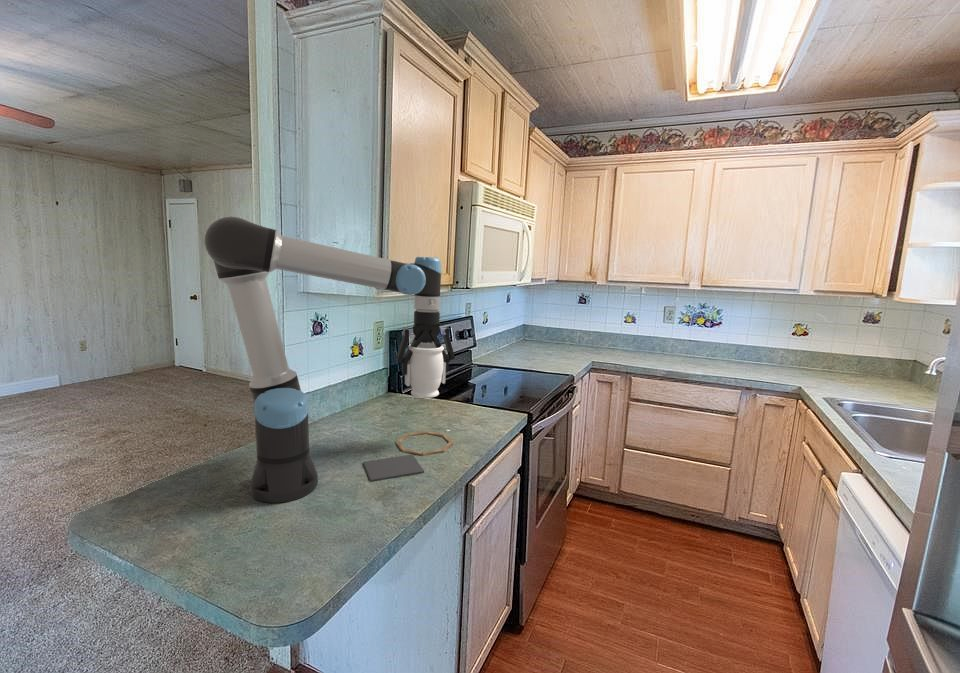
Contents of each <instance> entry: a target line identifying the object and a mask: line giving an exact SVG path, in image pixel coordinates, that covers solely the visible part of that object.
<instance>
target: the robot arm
mask: <svg viewBox="0 0 960 673" xmlns="http://www.w3.org/2000/svg"><path fill="white" fill-rule="evenodd" d="M204 246H205V250H206V252H207V255H209V257H210V258H211V259H212V261H213V265H214V267H215V270H216V275H217V277H218V280H219V281H220V282H222V283H224V284H226V285H227V287H228V291H229V294H230V297H231V301H232V305H233V309H234V313H235V317H236V319H237V323H238V325H239V329H240V330H239V331H240V334H241V336H242V341H243V343H244V344H243V345H244V346H245V351H246V355H247V358H248V362H249V365H250V369H251V372H252V376H253V377H252V379H251V380H250V382H249V383H248V386H249V390H250V392H251V397H252V400H253V404H254V406H253V415H254V423H255V424H254V425H255V444H256V445H255V447H256V463H255V466H254V469H253V473H252V476H251V479H250V483H249V490H250V496H251V497H252V498H253V499H254V500H256V501H257V502H261V503H262V502H263V503H270V504H276V503H277V504H279V503H280V504H281V503H286V502H291V501H294V500H298V499H301V498H304V497H305V496H307V495H309V494H310V493H312V492H313V491H314V490H315V489H316V488H317V486H318V483H319V480H318V479H319V478H318V477H319V476H318V471H317V469H316V466H315V464H314V461H313V460H312V457H311V453H310V432H309V431H310V430H309V428H310V427H309V426H310V425H309V411H310V405H309V401H308V397H307V395H306V393H304V392H303V391H302V389H301V385H300V382H299V378H298V374H297V372H296V371H294V370H293V369H291V368H289V363H288V360H287V356H286V352H285V348H284V344H283V340H282V337H281V333H280V329H279V324H278V322H277V317H276V314H275V310H274V306H273V302H272V299H271V294H270V291H269V287H268V283H267V277H268V275H269V274H270V273H272V272H274V271H275V270H278V271H279V270H281V271H286V272H291V273H296V274H300V275H306V276H310V277H311V276H312V277H318V278H322V279H326V280H327V279H328V280H331V281H332V280H333V281H337V282H343V283H348V284H353V285H359V286H365V287H370V288H374V289H376V290H381V291H390V292H395V293H401V294H403V295H405V296H407V295H408V296H413V295H414V298H413V300H414V302H413V304H414V305H413V309H415V310H414V312H413V326H412V328H403V329H402V337H401V341H400V344H399V347H398V350H397V353H396V356H395V361H396V362H398V363H400V364H401V374H402V375H404V385H406V386H407V387H411V384H410V364H409V363H408V361H409V360H410V358H411V356H412V354H413V352H412V351H411V350H409V348H407V346H408V342H409V339H410V337H411V336H412V334H413V335H414V337H413V339H412V342H411V343H410V344H411V345H410V344H409V345H410V346H412V347H416V348H417V347H418V345H419V344H420V343H433V344H435V346H436V348H439V347H441V346H443V345H442V344H441V342H440V340H439V338H438V336H439V334H441V335H442V336H443V337H442V338H443V341H444V344H445V348H446V351H445V349H444V350H443V351H442V355H443V373H442V378H441V383H442V384H446V375H447V374H446V373H448V372H449V365H450V364H449V363H450V362H451V361H452V360H455V358H456V357H455V352H454V348H453V345H452V340H451V336H450V333H451V330H450V328H448V327H440V323H441V322H440V317H441V312H440V311H439V310H440V309H441V283H442V282H441V281H442V262H441V259H440V258H439V257H433V256H431V257H429V256H417V257H415V259H414V262H412V263H411V262H410V263H407V262H401V261H396V260H391V259H387V258H383V257H379V256H374V255H369V254H365V253H360V252H356V251H352V250H348V249H343V248H339V247H334V246H330V245H324V244H320V243H315V242H310V241H306V240H302V239H298V238H294V237H288V236H284V235H281V233H280V232H279V231H278V230H277V229H273V228H269V227H266V226H262V225H259V224H257V223H253V222H252V221H249V220H247V219H243V218H241V217H237V216H224V217H221V218H218V219H216V220H215V221H213V222H212V223H211V224H210V225H209V226H208V228H207V229H206V231H205V234H204ZM406 349H407V350H406Z"/></svg>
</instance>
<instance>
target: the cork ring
mask: <svg viewBox="0 0 960 673" xmlns="http://www.w3.org/2000/svg"><path fill="white" fill-rule="evenodd" d="M421 435H431V436H438V437H442V438H443V439H444V440H445V441H446V442H447V444H446V445H445V446H443V447H442V448H441V449H435V450H427V451H418V450H413V449H410V448H409V449H408V448H405V446H404V444H403V443H402V442H403V441H404V440H406V439H408V438H409V437H412V436H413V437H414V436H421ZM395 443H396V446H397V447H398V448H399V450H400V451H401V452H403V453H408V454H411V455H412V454H413V455H418V456H430V455H434V454H441V453H445V452H447V450H449V449H450V448H451V447H452V446H453V445H454V441H453V439H451V438H450V437H449V435H447V434H446V433H440V432H435V431H429V430H424V431H416V432H415V431H414V432H408V433H406V434H404V435H403V436H400V437H399V438H398V439H396V441H395Z"/></svg>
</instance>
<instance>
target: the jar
mask: <svg viewBox="0 0 960 673" xmlns="http://www.w3.org/2000/svg"><path fill="white" fill-rule="evenodd" d="M411 344H412V343H410V344H409V345H408V344H407V346H408V348H407V349H409V350H411V351H412V352H413V354H412V356H411V358H410V360H409V361H408V363H409V364H410V387H411V388H412V390H411V391H410V394H411V395H412V396H413V397H415V398H420V399H421V398H423V399H430V398H431V399H432V398H435V397H438V396H439V395H440V392H439V390H438V389H439V388H440V385H441V383H442V382H441V378H442V373H443V355H442V351H443V350H444V351H445V348H444V345H442V346H441V347H439V348H436V346H435V344H434V343H433V342H421V343H420V344H419V345H418V347H417V348H416V347H412V346H410V345H411Z"/></svg>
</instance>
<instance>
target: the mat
mask: <svg viewBox="0 0 960 673" xmlns="http://www.w3.org/2000/svg"><path fill="white" fill-rule="evenodd" d="M362 464H363V466H364V468H365V471H366V473H367V475H368V478H369V480H370V482H377V481H382V480H383V481H384V480H389V479H395V478H400V477H402V478H403V477H407V476H413V475H418V474H419V475H420V474H425V469H424V468H423V467H422V466H421V464H420V463H419V462H418V460H417V459H416V457H415V456H414V454H412V453H411V454H406V455H405V454H404V455H400V456H393V457H387V458H380V459H373V460H365V461H363V463H362Z"/></svg>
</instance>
